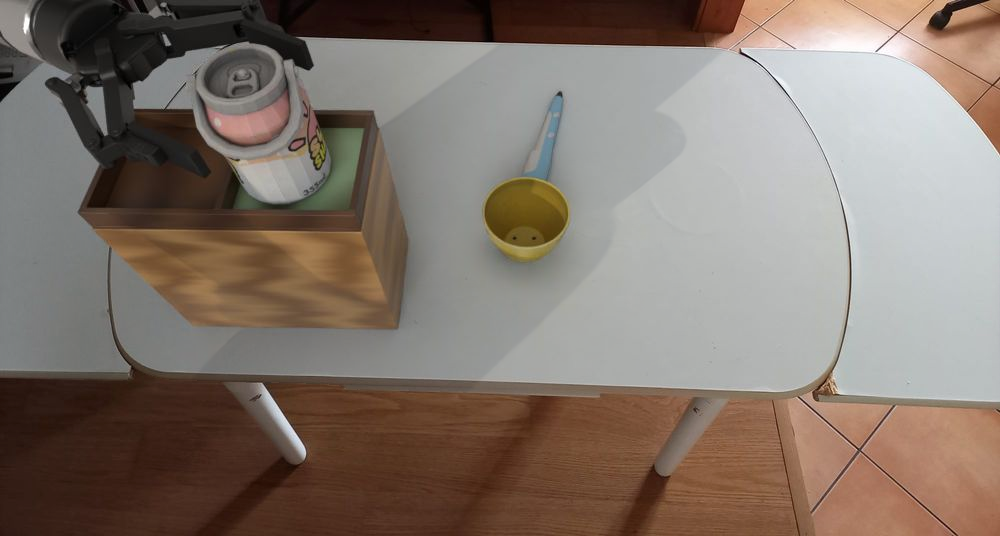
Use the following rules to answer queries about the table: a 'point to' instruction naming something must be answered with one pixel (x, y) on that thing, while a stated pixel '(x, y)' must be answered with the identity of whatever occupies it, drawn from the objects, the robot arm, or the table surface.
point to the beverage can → (260, 122)
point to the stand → (281, 268)
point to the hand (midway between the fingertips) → (257, 107)
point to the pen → (544, 143)
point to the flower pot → (526, 217)
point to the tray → (232, 184)
